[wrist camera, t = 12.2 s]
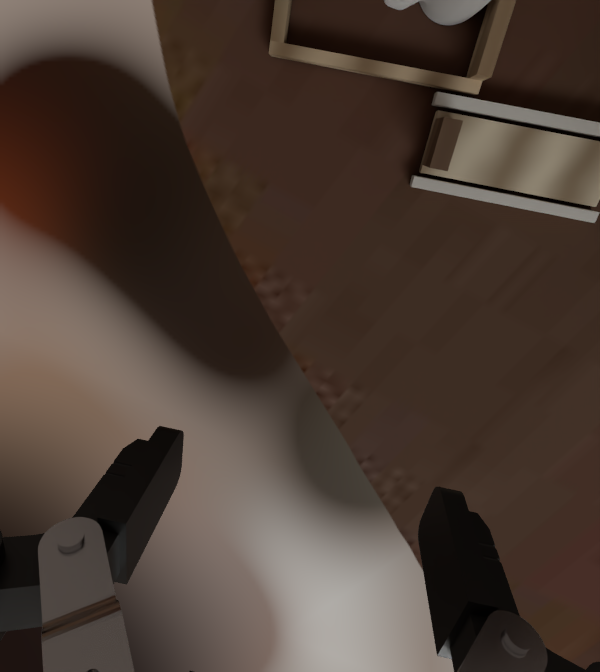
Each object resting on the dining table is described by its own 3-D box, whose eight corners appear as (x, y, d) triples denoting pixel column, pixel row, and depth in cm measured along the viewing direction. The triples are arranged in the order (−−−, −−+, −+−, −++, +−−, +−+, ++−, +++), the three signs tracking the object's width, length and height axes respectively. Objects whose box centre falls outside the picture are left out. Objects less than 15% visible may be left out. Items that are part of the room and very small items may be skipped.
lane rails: (735, -100, 32) (754, -111, 30) (586, 220, 42) (594, 223, 41) (499, -142, 32) (506, -155, 31) (409, 185, 43) (411, 186, 41)
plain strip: (617, 146, 39) (653, 147, 34) (589, 205, 41) (619, 214, 37) (435, 111, 40) (446, 107, 35) (418, 171, 42) (427, 176, 37)
